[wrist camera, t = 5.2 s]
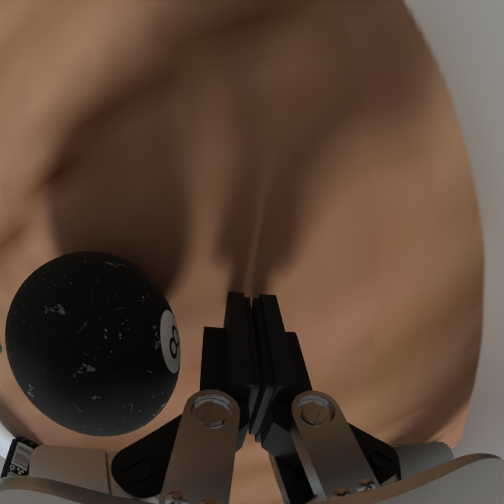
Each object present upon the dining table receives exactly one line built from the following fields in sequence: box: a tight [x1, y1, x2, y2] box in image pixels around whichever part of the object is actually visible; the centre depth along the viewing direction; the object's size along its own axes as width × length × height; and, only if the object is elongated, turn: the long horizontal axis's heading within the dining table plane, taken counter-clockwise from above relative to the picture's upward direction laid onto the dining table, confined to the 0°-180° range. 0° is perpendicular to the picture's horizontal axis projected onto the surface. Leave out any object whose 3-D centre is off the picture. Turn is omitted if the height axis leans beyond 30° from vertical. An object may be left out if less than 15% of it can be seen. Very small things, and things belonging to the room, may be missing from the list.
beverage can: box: [0, 437, 38, 479], centre depth 15 cm, size 7×7×12 cm
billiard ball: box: [5, 252, 180, 436], centre depth 8 cm, size 6×6×6 cm
